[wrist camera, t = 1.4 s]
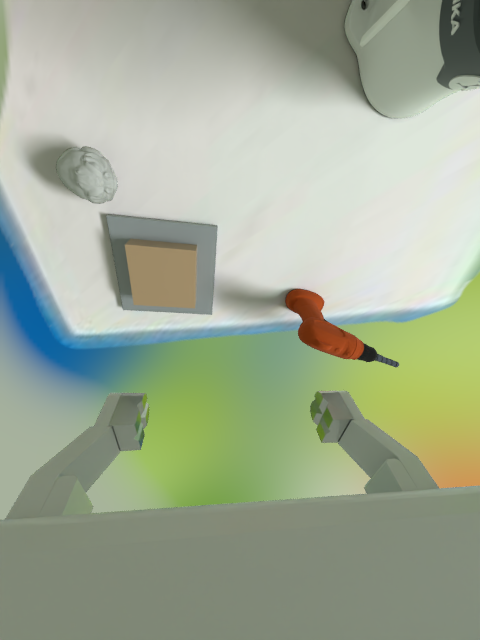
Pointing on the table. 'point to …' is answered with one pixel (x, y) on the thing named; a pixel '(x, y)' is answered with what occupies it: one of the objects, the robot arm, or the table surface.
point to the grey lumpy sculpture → (87, 174)
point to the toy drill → (328, 330)
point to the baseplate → (168, 234)
